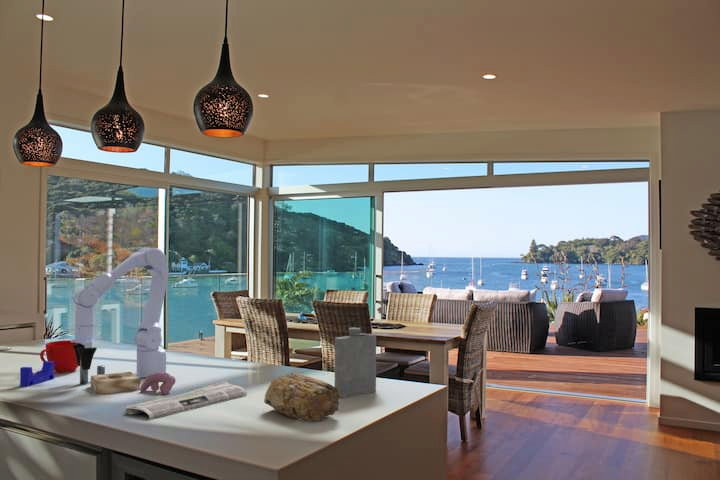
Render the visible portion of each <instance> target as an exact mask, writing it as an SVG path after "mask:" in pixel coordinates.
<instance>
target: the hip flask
mask: <svg viewBox="0 0 720 480" xmlns="http://www.w3.org/2000/svg"><path fill="white" fill-rule="evenodd" d="M348 333H349V335H345V336H344V335H343V336H340V337H339V336H338V337H335V338H334V387H336V388H337V389H338V392H339V399H346V398H349V397H353V396H358V395H359V396H360V395H363V394H368V393H375V392H377V333H361V327H349V328H348ZM339 399H338V400H339Z"/></svg>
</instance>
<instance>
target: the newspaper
mask: <svg viewBox="0 0 720 480" xmlns="http://www.w3.org/2000/svg"><path fill="white" fill-rule="evenodd" d="M247 394H248V393H247V391H246V390H245V388H244V387H242V386H239V385H237V384H232V383H229V382H228V381H227V380H226V379H225V380H222V381H219V382H216V383H212V384H209V385H206V386H203V387H200V388H196V389H194V390H191V391H188V392H184V393H182V394H177V395H173V396H168V397H163V398H159V399H155V400H150V401H144V402H141V403H136V404H131V405H126V407H125V408H126V409H125V414H126V415H135V414H140V413H143V412H144V413H146V414H147V415H148V417H149V418H148V420H149V421H150V420H154V419H159V418H162V417H166V416H170V414H171V415H174V413H175V414H178V413H177V412H179V413H181V411H183V412H186V411H185V410H187V411H190V410H189V409H191V410H194V409H193V408H195V409H198V408H197V407H199V408H201V406H203V407H206V406H205V405H207V406H210V404H211V405H214V404H213V403H215V404H218V403H217V402H219V403H221V401H223V402H226V401H225V400H227V401H231V400H234V399H239V398H243V397H246V396H247ZM230 399H231V400H230Z"/></svg>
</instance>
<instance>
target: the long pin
mask: <svg viewBox="0 0 720 480" xmlns="http://www.w3.org/2000/svg"><path fill="white" fill-rule="evenodd" d="M88 381H89V370H82V366H81V359H80V366H79V385H81V386H83V385H88V384H89V382H88Z"/></svg>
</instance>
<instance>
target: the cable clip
mask: <svg viewBox="0 0 720 480" xmlns="http://www.w3.org/2000/svg"><path fill="white" fill-rule="evenodd" d="M19 372H20V373H19V374H20V375H19V377H20V379H19V380H20V381H19V386H20V387H26V386H29V387H31V386H36V385H39V384H42V383H45V382H49V381H53V380H55V370H54V362H53V361H48V360H46V361H45V362H43V361H42V367H41V370H37V371H36V372H35V373H34V372H33V367H32V366H21V367H20V371H19ZM52 379H53V380H52Z"/></svg>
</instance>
